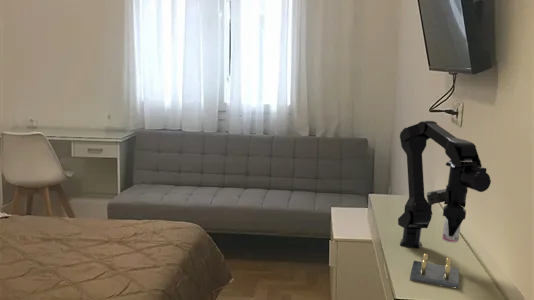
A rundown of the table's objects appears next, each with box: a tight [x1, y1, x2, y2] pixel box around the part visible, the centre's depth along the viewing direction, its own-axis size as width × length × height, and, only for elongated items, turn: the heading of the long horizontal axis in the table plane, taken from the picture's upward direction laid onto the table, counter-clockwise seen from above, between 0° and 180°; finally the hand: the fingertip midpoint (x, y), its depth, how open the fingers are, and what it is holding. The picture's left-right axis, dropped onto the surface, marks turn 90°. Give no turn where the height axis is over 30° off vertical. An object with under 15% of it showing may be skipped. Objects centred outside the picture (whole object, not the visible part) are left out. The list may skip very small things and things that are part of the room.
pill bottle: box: [442, 217, 462, 244], centre depth 179 cm, size 5×5×8 cm
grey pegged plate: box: [409, 253, 460, 289], centre depth 170 cm, size 13×13×5 cm
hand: (451, 233), depth 179 cm, fingers closed on pill bottle, 5 cm apart
